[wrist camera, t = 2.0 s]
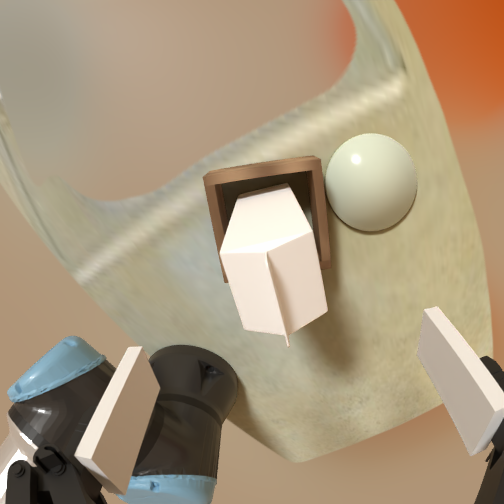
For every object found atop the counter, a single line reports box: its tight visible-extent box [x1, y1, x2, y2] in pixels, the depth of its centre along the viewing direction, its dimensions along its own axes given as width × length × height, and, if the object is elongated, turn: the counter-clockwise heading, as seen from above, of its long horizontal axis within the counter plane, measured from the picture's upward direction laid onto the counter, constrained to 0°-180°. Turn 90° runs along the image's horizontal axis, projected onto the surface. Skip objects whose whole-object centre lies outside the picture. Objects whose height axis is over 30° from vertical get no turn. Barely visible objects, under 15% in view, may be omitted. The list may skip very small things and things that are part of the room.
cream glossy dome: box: [325, 134, 417, 231], centre depth 36 cm, size 12×12×1 cm
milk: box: [220, 183, 328, 347], centre depth 28 cm, size 6×6×22 cm
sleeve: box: [203, 156, 331, 283], centre depth 36 cm, size 12×12×5 cm
